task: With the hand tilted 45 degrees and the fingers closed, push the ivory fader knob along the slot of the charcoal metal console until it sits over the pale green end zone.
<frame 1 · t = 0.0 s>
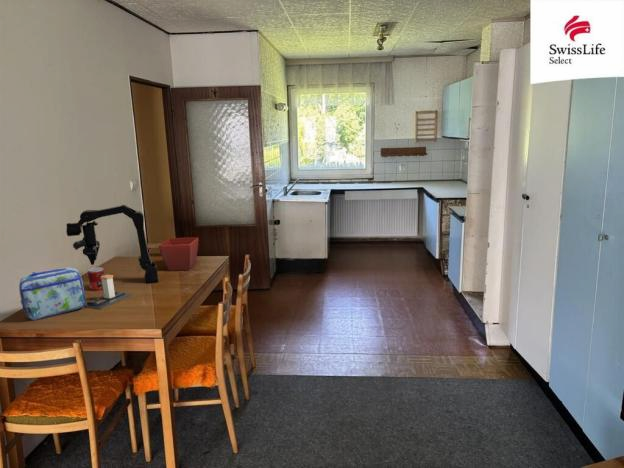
hand: (93, 262, 251), 15 cm above the table, tool pointing down, fingers open, 9 cm apart
lunch box: (56, 313, 221), on the table
console: (108, 300, 235), on the table
fader knob: (108, 286, 234), point 7 cm above the table, slide at 0.0 cm
canned food: (98, 288, 254), on the table
plant pot: (181, 268, 287), on the table
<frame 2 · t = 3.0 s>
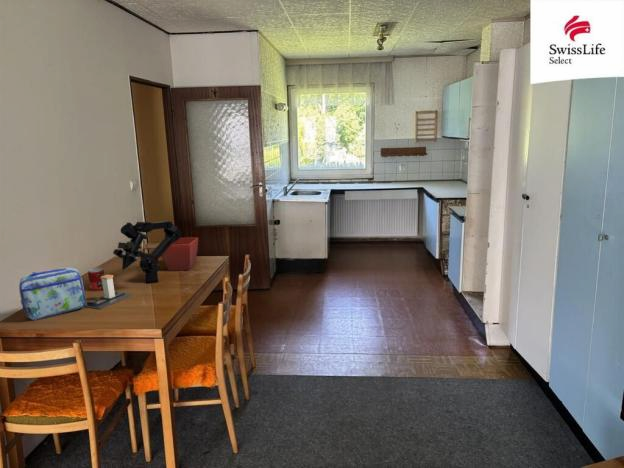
hand: (123, 269, 243), 13 cm above the table, tool tilted 40°, fingers closed
plant pot: (181, 268, 287), on the table, touching arm
everything else where it was.
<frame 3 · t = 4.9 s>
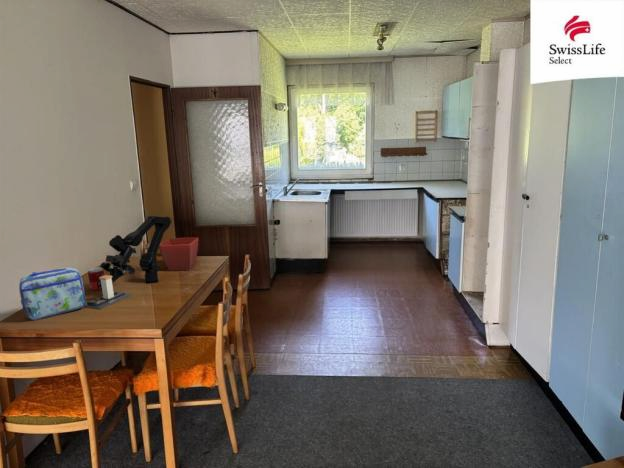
hand: (110, 283, 235), 8 cm above the table, tool tilted 45°, fingers closed, pressing on fader knob
fader knob: (107, 287, 234), point 7 cm above the table, slide at 0.7 cm, touching gripper
plant pot: (181, 268, 287), on the table
everything else where it was.
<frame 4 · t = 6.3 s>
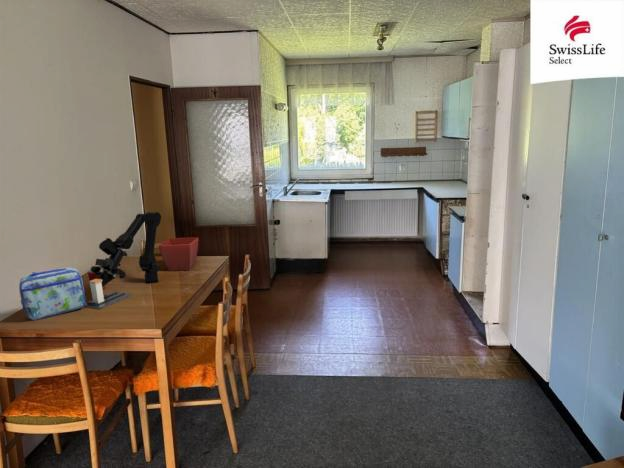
hand: (100, 287, 230), 8 cm above the table, tool tilted 45°, fingers closed, pressing on fader knob
fader knob: (97, 291, 228), point 7 cm above the table, slide at 6.9 cm, touching gripper
everything else where it was.
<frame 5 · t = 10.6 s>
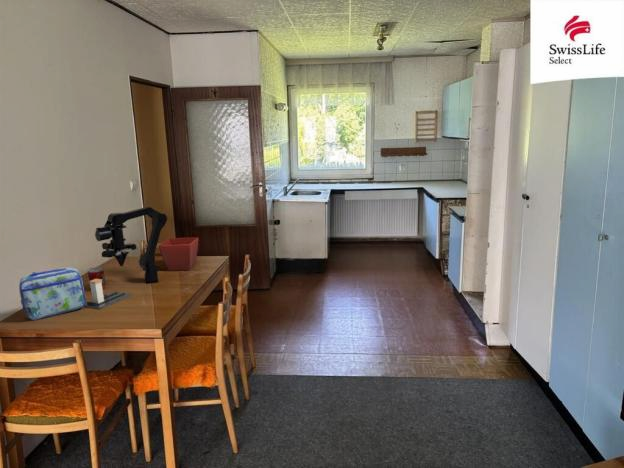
hand: (121, 266, 248), 13 cm above the table, tool pointing down, fingers closed
fader knob: (97, 291, 228), point 7 cm above the table, slide at 6.9 cm
everything else where it was.
at the end: fader knob slide at 6.9 cm; the gripper is holding nothing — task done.
